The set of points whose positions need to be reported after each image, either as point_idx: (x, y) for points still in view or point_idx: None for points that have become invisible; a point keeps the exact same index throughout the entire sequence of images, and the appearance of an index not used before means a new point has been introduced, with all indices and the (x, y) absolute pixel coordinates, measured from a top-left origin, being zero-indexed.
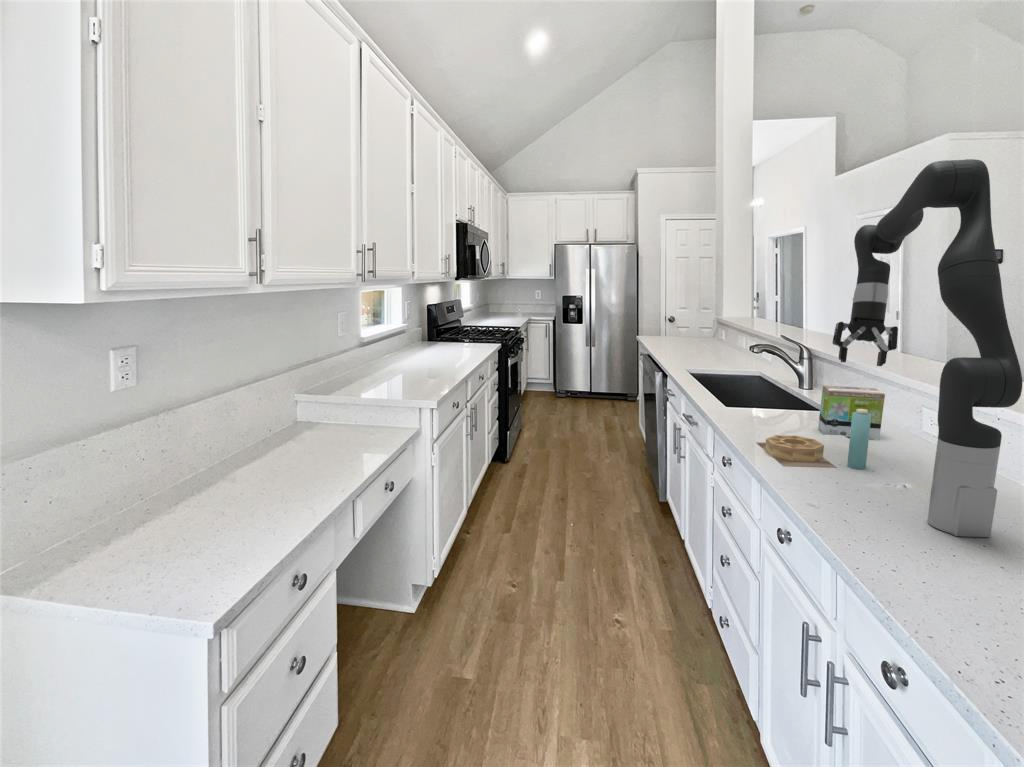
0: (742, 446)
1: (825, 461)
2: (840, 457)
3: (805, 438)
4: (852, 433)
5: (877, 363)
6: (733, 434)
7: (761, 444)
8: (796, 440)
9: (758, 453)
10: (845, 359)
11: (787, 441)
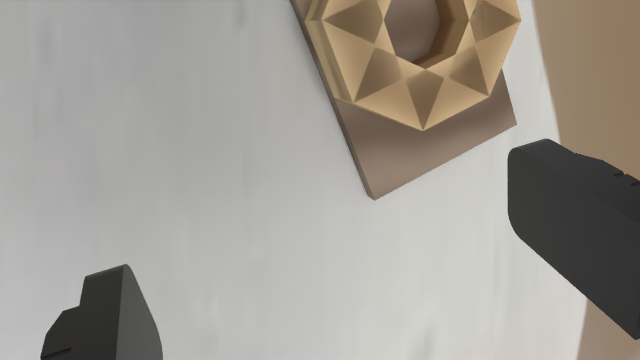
0: (543, 99)
1: None
2: (239, 126)
3: (388, 99)
4: None
5: (155, 349)
6: None
7: (500, 104)
8: (417, 67)
9: None
10: (534, 152)
11: (443, 56)
